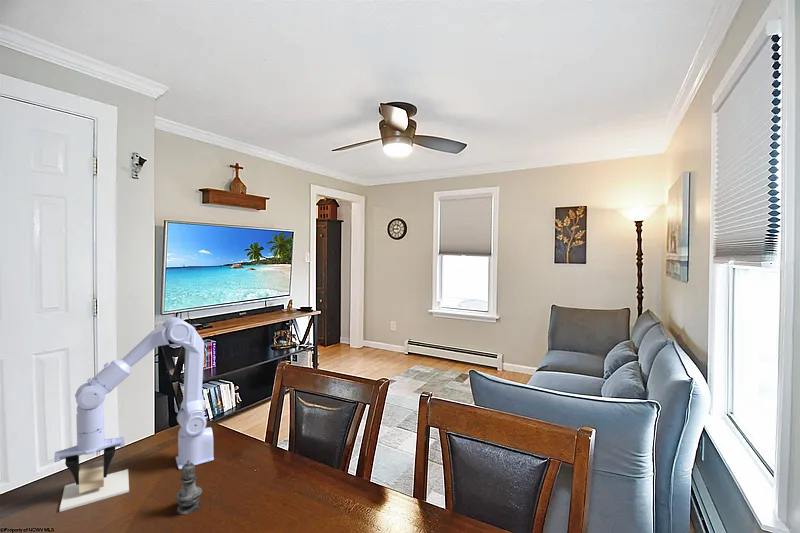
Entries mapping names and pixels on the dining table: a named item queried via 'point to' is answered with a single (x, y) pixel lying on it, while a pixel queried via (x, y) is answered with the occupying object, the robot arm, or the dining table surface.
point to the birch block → (91, 476)
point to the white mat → (95, 491)
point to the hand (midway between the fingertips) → (91, 479)
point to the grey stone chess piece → (188, 490)
